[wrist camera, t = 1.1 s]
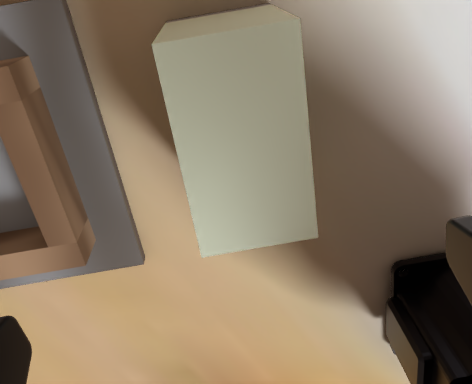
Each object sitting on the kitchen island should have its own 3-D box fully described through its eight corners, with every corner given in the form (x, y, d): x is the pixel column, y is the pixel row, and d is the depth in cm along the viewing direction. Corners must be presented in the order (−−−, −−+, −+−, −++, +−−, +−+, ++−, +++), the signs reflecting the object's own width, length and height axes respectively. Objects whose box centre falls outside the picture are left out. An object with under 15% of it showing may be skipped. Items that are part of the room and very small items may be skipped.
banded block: (268, 2, 17) (300, 18, 12) (287, 166, 20) (318, 237, 15) (166, 20, 17) (151, 44, 12) (201, 181, 20) (201, 257, 15)
